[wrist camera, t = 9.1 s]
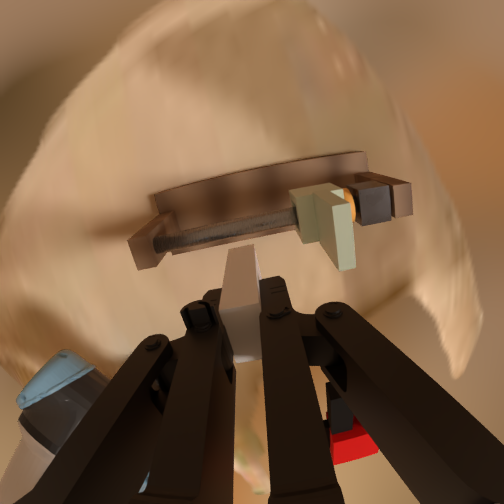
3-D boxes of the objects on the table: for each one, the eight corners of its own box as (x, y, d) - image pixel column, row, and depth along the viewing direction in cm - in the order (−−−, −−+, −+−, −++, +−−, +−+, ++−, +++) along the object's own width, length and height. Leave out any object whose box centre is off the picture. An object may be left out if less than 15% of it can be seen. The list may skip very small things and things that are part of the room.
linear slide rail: (175, 251, 36) (147, 293, 25) (158, 192, 33) (118, 214, 22) (368, 211, 34) (413, 239, 23) (361, 151, 31) (408, 155, 20)
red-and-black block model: (405, 387, 36) (385, 449, 44) (387, 356, 44) (376, 424, 52) (320, 413, 37) (324, 467, 46) (311, 377, 45) (319, 439, 53)
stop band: (335, 219, 26) (346, 229, 23) (331, 187, 25) (342, 192, 22) (345, 218, 26) (357, 227, 23) (341, 185, 25) (353, 191, 22)
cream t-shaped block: (296, 232, 27) (318, 276, 18) (288, 188, 25) (309, 210, 16) (335, 224, 26) (374, 263, 17) (329, 180, 25) (370, 199, 16)
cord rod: (157, 256, 27) (147, 270, 24) (147, 227, 26) (135, 237, 23) (389, 209, 25) (405, 217, 22) (386, 178, 24) (402, 183, 21)
